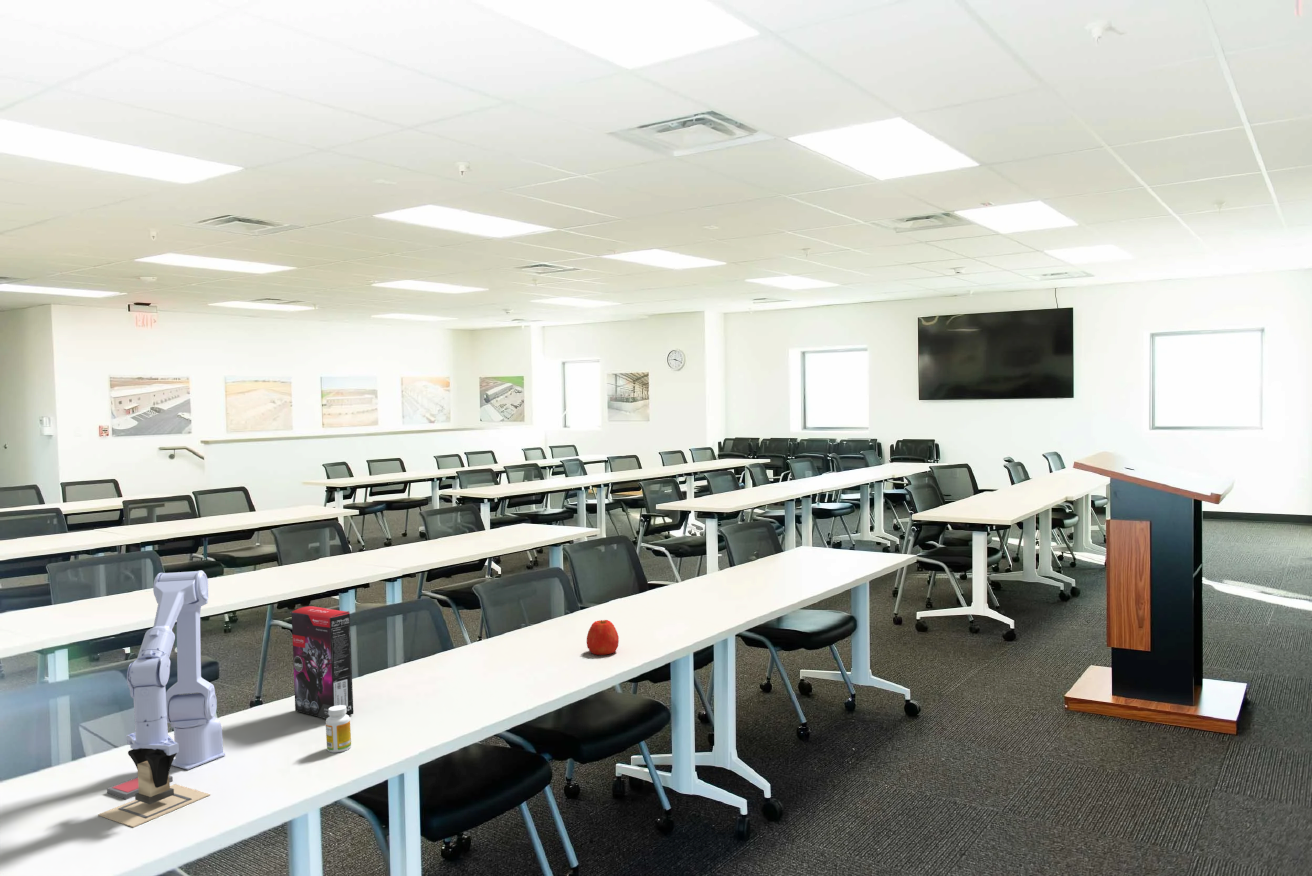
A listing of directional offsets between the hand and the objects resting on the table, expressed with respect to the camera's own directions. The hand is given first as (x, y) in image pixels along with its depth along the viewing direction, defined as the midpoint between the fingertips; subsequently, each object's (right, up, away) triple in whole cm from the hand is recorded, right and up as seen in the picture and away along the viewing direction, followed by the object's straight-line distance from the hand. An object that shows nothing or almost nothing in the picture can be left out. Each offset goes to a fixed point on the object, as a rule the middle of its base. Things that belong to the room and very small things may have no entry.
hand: (154, 783), depth 183 cm
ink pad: (-8, -4, +10) cm, 13 cm away
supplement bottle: (+28, -3, +28) cm, 40 cm away
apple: (+85, +1, +105) cm, 135 cm away
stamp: (0, -3, 0) cm, 3 cm away
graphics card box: (+15, -2, +54) cm, 56 cm away
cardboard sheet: (0, -4, 0) cm, 4 cm away
